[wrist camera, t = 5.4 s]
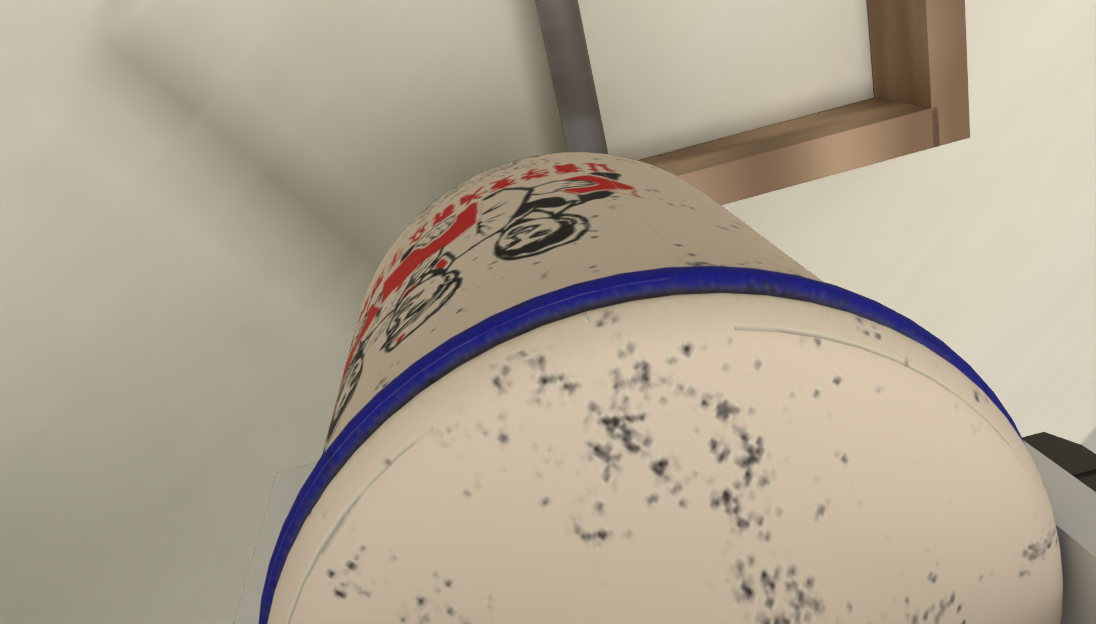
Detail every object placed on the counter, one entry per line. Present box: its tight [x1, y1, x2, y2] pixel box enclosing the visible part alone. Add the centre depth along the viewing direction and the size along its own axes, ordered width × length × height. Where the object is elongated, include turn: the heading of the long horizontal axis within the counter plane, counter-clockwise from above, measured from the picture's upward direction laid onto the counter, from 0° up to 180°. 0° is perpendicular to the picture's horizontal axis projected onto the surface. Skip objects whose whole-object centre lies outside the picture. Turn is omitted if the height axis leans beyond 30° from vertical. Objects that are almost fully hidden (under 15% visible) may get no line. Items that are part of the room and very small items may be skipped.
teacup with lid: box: [259, 152, 1063, 624], centre depth 12 cm, size 12×9×12 cm
